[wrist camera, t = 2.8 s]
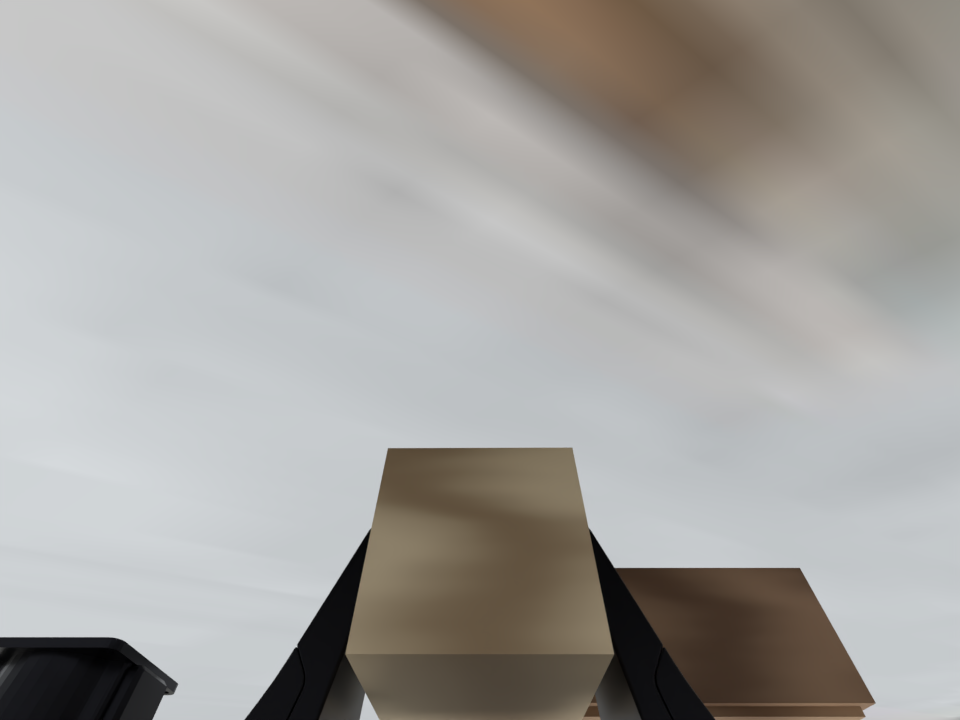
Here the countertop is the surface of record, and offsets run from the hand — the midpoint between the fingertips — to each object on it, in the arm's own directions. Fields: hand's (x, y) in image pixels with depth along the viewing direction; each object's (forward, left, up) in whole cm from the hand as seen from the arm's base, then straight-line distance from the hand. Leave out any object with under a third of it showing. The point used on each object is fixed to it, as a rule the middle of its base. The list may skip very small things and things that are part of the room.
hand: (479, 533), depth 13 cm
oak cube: (0, 0, -1) cm, 1 cm away
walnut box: (+7, -10, -1) cm, 12 cm away
